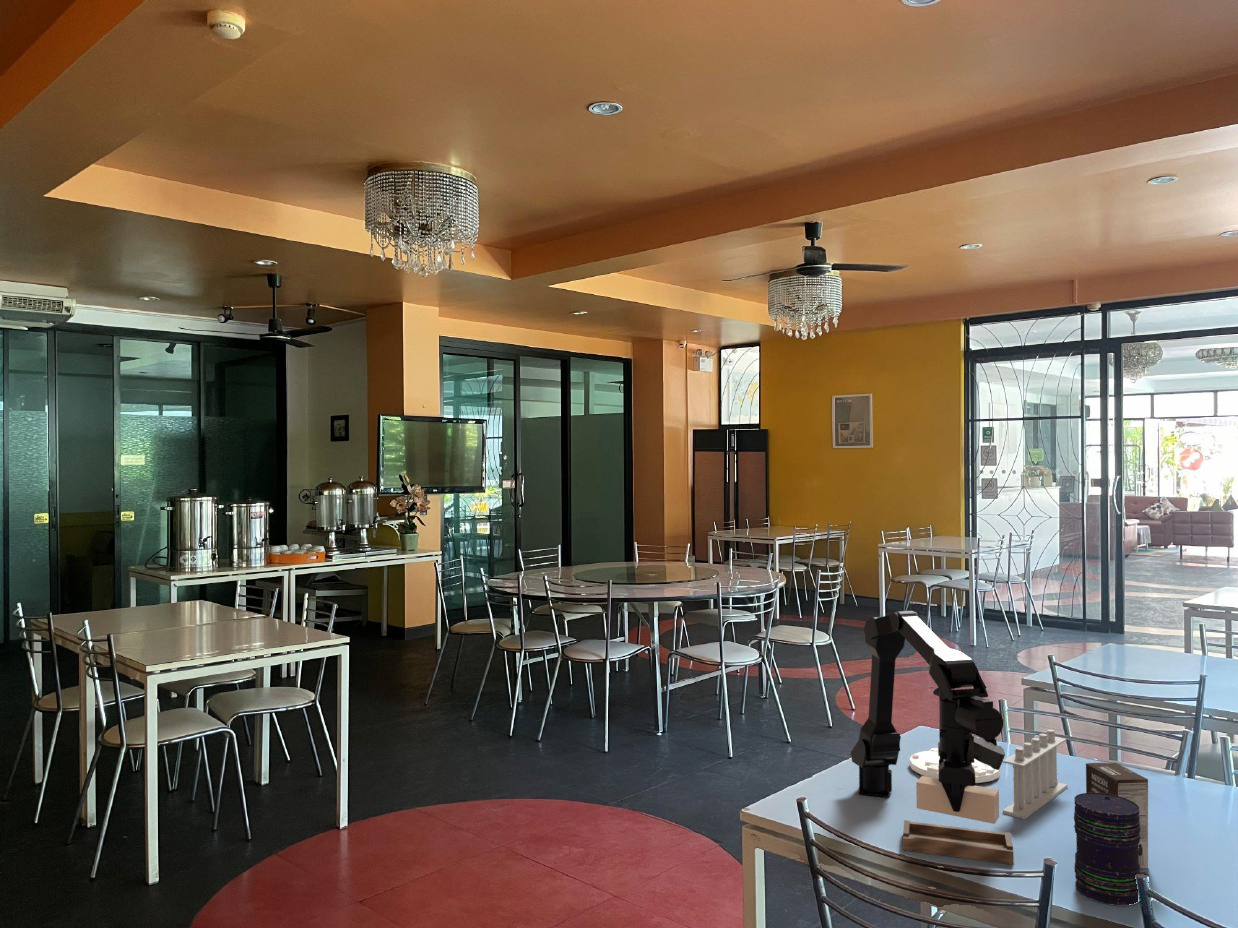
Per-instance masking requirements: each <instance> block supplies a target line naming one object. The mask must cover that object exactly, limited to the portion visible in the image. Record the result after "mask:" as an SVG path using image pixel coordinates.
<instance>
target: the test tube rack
mask: <svg viewBox="0 0 1238 928" xmlns="http://www.w3.org/2000/svg"><path fill="white" fill-rule="evenodd" d="M1066 742H1067V738H1064V737H1059V736H1056V731H1055V730H1054V729H1047V730H1046V732H1045V733H1039V736H1038V737H1036V738H1035V737H1032V738H1031V741H1030V742H1023V745H1022V747H1020V746H1017V747H1015V749H1014V753H1013V754H1012V755H1009V756H1008V757H1006V758H1004V759H1003V762H1002V764H1006V765H1007V764H1008V765H1011V766H1012V768H1013V802H1011V804H1010V805H1008V806H1007V807H1005V808H1004V809H1002V814H1004V815H1007V816H1011V817H1015V818H1018V819H1023V820H1025V819H1027V818H1028V817H1030V816H1031V815H1032V814H1034V813H1035V812H1036V811H1038V810H1039V809H1040V808H1042V807H1044V806H1045V805H1046V804H1047V803H1049V802H1050V801H1051V800H1053V799H1054V798H1055V797H1057V796H1058V795H1060V794H1061V793H1062V792H1065V790H1066V789H1068V784H1066V783H1062V782H1059V781H1058V771H1057V770H1058V769H1057V767H1058V764H1057V762H1058V759H1057V758H1058V757H1057V749H1058V747H1059V746H1061V744H1063V743H1066Z"/></svg>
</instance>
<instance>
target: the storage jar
mask: <svg viewBox="0 0 1238 928" xmlns="http://www.w3.org/2000/svg"><path fill="white" fill-rule="evenodd" d="M1139 813H1140V812H1139V806H1138V805H1137V804H1136V803H1134V802H1132V801H1130V800H1128V799H1125V798H1122V797H1119V796H1115V795H1110V794H1103V793H1086V792H1084V793H1083V792H1082V793H1079V794H1077V795H1075V796H1074V813H1073V821H1074V825H1073V827H1074V831H1075V832H1074V833H1075V834H1076V835H1075V836H1076V837H1075V838H1076V842H1075V843H1076V852H1075V853H1074V861H1075V862H1074V873H1075V875H1074V877H1075V881H1074V882H1075V884H1074V885H1075V889H1076V891H1077V892H1078V893H1079V894H1080V895H1082V896H1084V897H1086V898H1087V899H1090V900H1091V901H1094V902H1098V903H1101V904H1105V905H1109V904H1113V905H1112V906H1115V905H1129V904H1134V903H1136V902H1138V889H1137V884H1136V879H1135V875H1136V874H1140V875H1141V868H1140V864H1139V863H1138V844H1139V842H1140V838H1141V837H1140V817H1139Z"/></svg>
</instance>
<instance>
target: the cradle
mask: <svg viewBox="0 0 1238 928" xmlns="http://www.w3.org/2000/svg"><path fill="white" fill-rule="evenodd" d="M902 834H903V835H902V836H903V837H902V845H903V846H902V848H903V849H902V850H903V851H906V852H908V851H909V852H915V853H923V854H930V855H939V856H945V857H946V856H947V857H954V858H959V859H968V860H969V859H970V860H977V861H982V862H983V861H984V862H991V863H992V862H993V863H999V864H1007V865H1014V857H1015V855H1014V845H1013V841H1012V836H1011V832H1006V831H1004V832H1001V831H1000V832H999V831H992V830H984V829H977V828H968V827H960V826H959V827H957V826H952V825H951V826H949V825H942V824H934V823H926V822H925V823H923V822H917V821H910V820H906V819H904V820H903V833H902Z"/></svg>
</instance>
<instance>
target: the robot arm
mask: <svg viewBox="0 0 1238 928" xmlns="http://www.w3.org/2000/svg"><path fill="white" fill-rule="evenodd" d="M863 630H864V632H863V633H864V641H865V645H866V647H867V648H868V650H869V652H870V653H871V669H870V685H869V687H870V689H869V703H868V705H869V706H868V707H869V708H868V718H867V719H866V721H865V722H864V723H863V725H862V726H861V728H859V729H860V730H859V735H858V741H857V742H856V744H855V745H854V746H853V748H852V749H851V750H850V757H851V762H852V764H853V763H854V764H855V765H856V766H858V786H859V787H858V791H857V793H858V795H864V796H865V795H867V796H874V797H880V798H881V797H882V798H889V797H890V793H892V791H893V771H892V769H890V766H896V765H897V762H898V759H899V755H900V754H899V753H900V751H901V746H900V745H901V738H902V737H901V734H900V732H898V731H897V729H896V727H895V726H894V724H893V708H894V707H893V706H894V695H895V693H894V690H895V676H896V662H897V661H896V660H897V658H898V656H899V655H900V653H901V652H902V651H903V649H904V648H905V643H906V641H907V643H909V644H910V646H912V647H913V649H914V650H915V651H916V652H917V653H918V654H919V655H920V656H921V657H922V658H923V659H924V660H925V662H926V663H927V665H928V674H929V675H930V677H931V679H932V680H933V681H934V683H935V684H936V686H937V688H935V689H934V690H933V691H932V694H933V695H935V696H937V697H938V716H939V717H938V718H939V719H938V721H939V727H938V729H939V731H938V732H939V735H938V736H939V738H938V739H939V740H938V742H937V748H938V756H940V759H939V782H941V783H942V786H943V788H944V790H945V793H946V795H947V797H948V800H949V802H950V804H951V807H952V809H953V811H954V812H960V808H961V803H962V799H963V795H964V790H965V787H967V786H976V783H975V769H974V768H973V767H972V763H974V759H976V760H977V761H980V762H982V763H984V764H987V765H989V766H991V767H992V768H993V769H996V770H999V769H1001V766H1002V764H1003V760H1005V757H1006V753H1005V749H1004V748H1002V746H1001V745H998V743H997V742H998V741H997V737H998V736H999V735H1000V734H1001V733H1002V731H1003V728H1004V718H1003V717H1002V714H1001V713H1000V711H999V710H997V708H994V701H993V700H991V699H987V698H988V697H989V694H988V691H987V686H986V684H985V682H984V680H983V679H982V677H981V673H980V672H979V668H978V666H977V665H976V663H975V661H974V660H973V659H972V658H971V657H969V655H966V654H965V653H964V652H962V651H960V650H957V649H954V648H952V647H949V646H948V645H947V644H945V643H944V641H943V640H942V639H941V638H940V637H938V635H937V634H935V632H933V631H932V629H931V628H930V627H929V626H928V625H927V624H926V623H925V622H924V621H923V620H922V619H921V618H920V615H919V614H918V612H916V611H914V610H902V611H900V610H899V611H895V612H891V613H890V614H888V615H884V616H871V617H870V618H869V619H868V620H866V621H865V623H864V627H863ZM972 687H973V688H972Z"/></svg>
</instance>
